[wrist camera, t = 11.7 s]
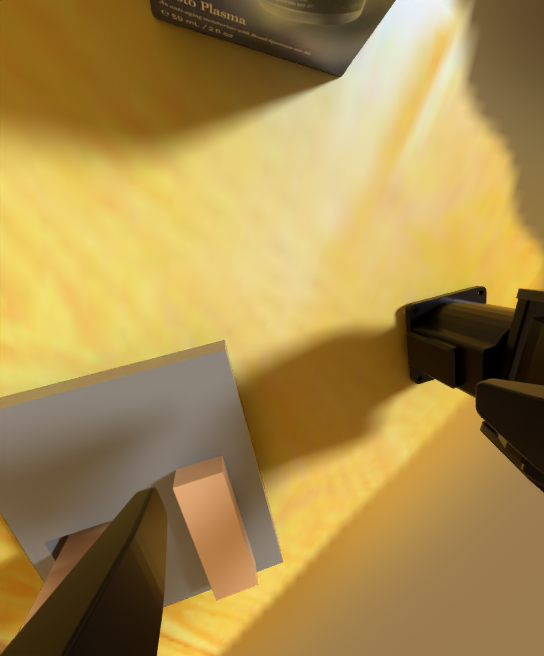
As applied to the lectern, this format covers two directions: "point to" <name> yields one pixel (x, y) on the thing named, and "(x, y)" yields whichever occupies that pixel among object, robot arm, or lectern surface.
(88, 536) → the ochre column
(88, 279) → the lectern surface
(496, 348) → the robot arm
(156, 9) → the small box
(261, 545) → the baseplate
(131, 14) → the lectern surface
